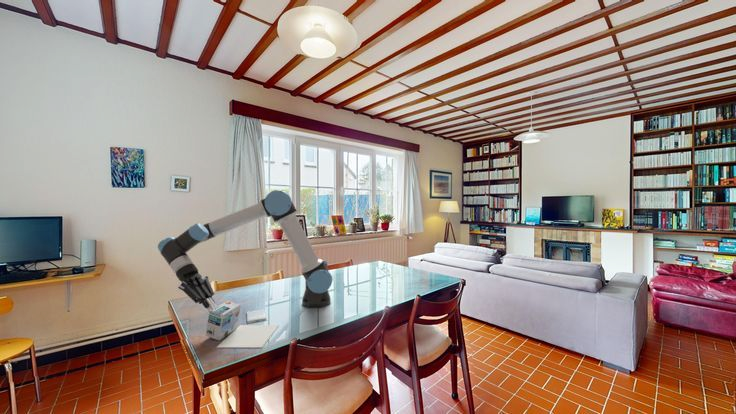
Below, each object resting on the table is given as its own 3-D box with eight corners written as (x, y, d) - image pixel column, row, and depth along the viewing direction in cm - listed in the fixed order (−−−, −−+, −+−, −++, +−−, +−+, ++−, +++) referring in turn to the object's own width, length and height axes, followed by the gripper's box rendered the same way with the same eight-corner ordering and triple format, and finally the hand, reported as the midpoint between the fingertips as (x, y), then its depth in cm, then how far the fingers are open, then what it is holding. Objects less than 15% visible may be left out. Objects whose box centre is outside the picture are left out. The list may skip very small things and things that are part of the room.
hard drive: (246, 311, 136) (247, 320, 125) (264, 308, 139) (266, 317, 128) (246, 314, 136) (247, 324, 125) (264, 312, 139) (266, 321, 128)
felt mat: (278, 325, 122) (278, 325, 122) (262, 347, 103) (262, 347, 103) (240, 325, 122) (240, 325, 122) (216, 347, 103) (216, 347, 103)
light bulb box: (219, 341, 108) (223, 315, 107) (204, 336, 109) (208, 310, 108) (237, 328, 118) (241, 304, 117) (223, 323, 120) (227, 300, 119)
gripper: (193, 271, 126) (222, 312, 121) (164, 278, 113) (195, 324, 108) (202, 260, 124) (232, 301, 120) (174, 266, 111) (207, 312, 107)
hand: (215, 312), depth 114 cm, fingers closed
